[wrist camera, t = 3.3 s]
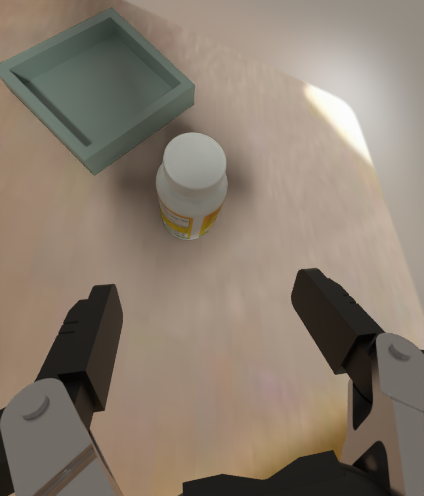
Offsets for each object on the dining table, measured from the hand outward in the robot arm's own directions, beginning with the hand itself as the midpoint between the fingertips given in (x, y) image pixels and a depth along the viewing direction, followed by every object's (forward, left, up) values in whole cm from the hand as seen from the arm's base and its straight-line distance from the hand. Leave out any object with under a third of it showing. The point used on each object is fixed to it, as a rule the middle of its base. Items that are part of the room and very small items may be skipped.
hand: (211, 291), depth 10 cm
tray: (+8, +22, -12) cm, 27 cm away
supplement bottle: (+5, +6, -12) cm, 15 cm away
